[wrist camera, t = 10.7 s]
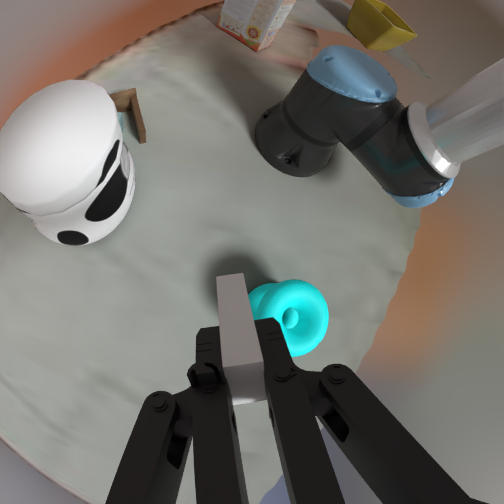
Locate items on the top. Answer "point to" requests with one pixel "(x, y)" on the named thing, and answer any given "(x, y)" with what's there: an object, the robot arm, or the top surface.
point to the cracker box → (254, 20)
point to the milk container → (67, 163)
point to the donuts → (293, 312)
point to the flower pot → (377, 25)
